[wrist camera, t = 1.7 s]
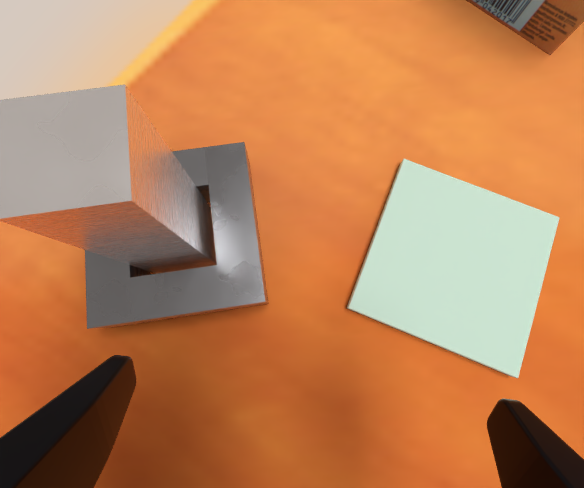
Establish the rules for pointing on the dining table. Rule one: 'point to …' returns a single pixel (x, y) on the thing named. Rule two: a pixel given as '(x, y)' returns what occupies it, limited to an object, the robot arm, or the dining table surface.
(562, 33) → the milk carton
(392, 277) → the pad
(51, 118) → the peg
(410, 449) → the dining table surface
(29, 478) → the robot arm
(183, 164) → the socket block
